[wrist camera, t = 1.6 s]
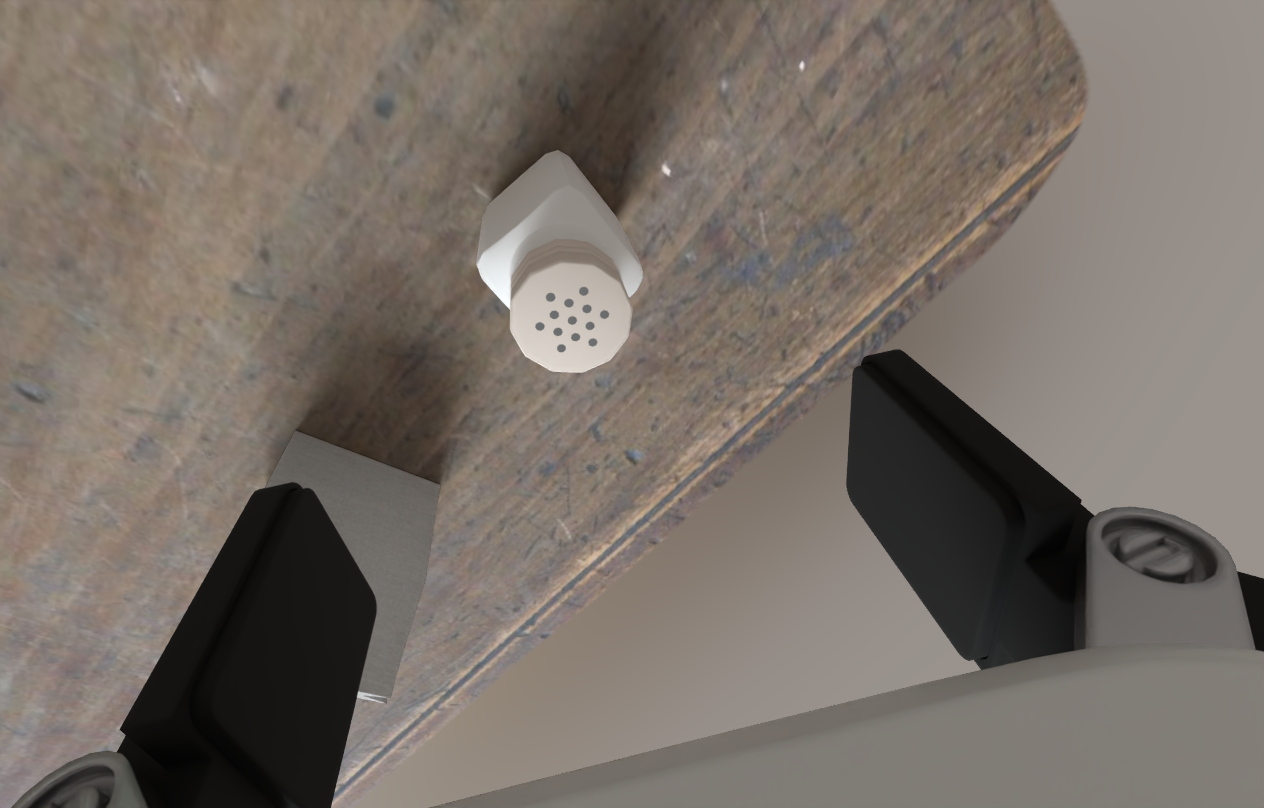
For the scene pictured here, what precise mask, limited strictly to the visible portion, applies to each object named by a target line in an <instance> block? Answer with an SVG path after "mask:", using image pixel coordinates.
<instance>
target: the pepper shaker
mask: <svg viewBox="0 0 1264 808" xmlns="http://www.w3.org/2000/svg"><path fill="white" fill-rule="evenodd" d="M476 264H477V267H478V270H479V272H480V275H481V278H482V279H483V281H484V282H485V283H486V284H487V285H488V286H489V287H490V288H491V290H492V291H493V292H494V293H495V294H496V295H497V296H498V297H499V299H500V300H501V301H502V302H503V303H504V304H505V305H506V306H507V307H508V308H509V309H510V331H511V333H512V335H513V336H514V338H515V340H516V341H517V343H518V345H519V347H520V348H521V350H522V352H523V353H524V355H525V356H526V357H527V358H529V359H531V360H533V361H534V362H536V363H538V364H540V365H542V366H543V367H545V368H547V369H549V370H550V371H555V372H580V373H583V372H585V371H587V370H590V369H592V368H594V367H596V366H599V365H601V364H603V363H605V362H608V361H610V360H611V359H612V357H613V356H614V355H615V354H616V352H617V351H618V350H619V349H620V347H621V346H622V345H623V344H624V342H625V341H626V340H627V339H628V337H629V333H630V326H631V320H632V313H633V306H632V304H631V301H630V299H629V297H630V296H632V295H633V294H634V293H635V292H636V291H637V289H638V287H639V285H640V283H641V280H642V278H643V276H644V275H643V271H642V266H641V263H640V261H639V259H638V257H637V255H636V253H635V251H634V250H633V248H632V246H631V244H630V242H629V240H628V238H627V236H626V234H625V232H624V230H623V228H622V227H621V225H620V223H619V221H618V219H617V217H616V216H615V214H614V213H613V212H612V211H611V209H610V208H609V207H608V205H607V204H606V203H605V202H604V200H603V199H602V198H601V196H600V195H599V194H598V193H597V191H596V190H595V189H594V187H593V186H592V185H591V184H590V182H589V181H588V180H587V178H586V177H585V176H584V175H583V173H582V172H581V171H580V170H579V168H578V167H577V166H576V164H575V163H574V162H573V161H572V159H571V158H570V157H569V156H568V155H566V154H564V153H562V152H561V151H559V150H556V151H553V152H550V153H546V154H545V155H544V156H543V157H541V158H540V159H539V160H538V161H537V162H536V163H535V164H533V165H532V166H531V167H530V168H529V169H528V170H527V171H525V172H524V173H523V174H522V175H521V176H520V177H519V178H518V179H516V180H515V181H514V182H513V183H512V184H511V185H510V186H508V187H507V188H506V189H505V190H504V191H503V192H502V193H501V194H499V195H498V196H497V197H496V198H495V199H494V200H493V201H491V202H490V203H489V204H488V206H487V208H486V210H485V212H484V214H483V219H482V225H481V232H480V239H479V246H478V253H477V260H476Z"/></svg>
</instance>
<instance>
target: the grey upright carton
mask: <svg viewBox="0 0 1264 808" xmlns="http://www.w3.org/2000/svg"><path fill="white" fill-rule="evenodd" d="M290 482H295V483H298V484H299V485H301V486H302V488H303V489H304V488H310V489H312V490H313V491H314V492H315V494H316V495H317V497H318V499H319V500H320V502H321V504H322V505H323V507H324V509H325V511H326V512H327V514H328V516H329V517H330V519H331V521H332V522H333V524H334V526H335V528H336V529H337V531H338V533H339V534H340V536H341V538H342V540H343V541H344V543H345V545H346V546H347V548H348V550H349V551H350V553H351V555H352V557H353V558H354V560H355V562H356V563H357V565H358V567H359V569H360V570H361V572H362V574H363V575H364V577H365V579H366V580H367V582H368V584H369V586H370V587H371V589H372V591H373V593H374V595H375V598H376V603H377V614H376V619H375V623H374V627H373V631H372V636H371V640H370V644H369V648H368V653H367V657H366V661H365V665H364V669H363V674H362V678H361V682H360V686H359V691H358V695H357V698H361V699H366V700H371V701H376V702H381V703H386V704H387V698H391V695H392V691H393V687H394V683H395V679H396V675H397V672H398V668H399V665H400V661H401V658H402V655H403V651H404V648H405V644H406V641H407V638H408V635H409V632H410V628H411V625H412V622H413V619H414V616H415V612H416V609H417V606H418V603H419V600H420V596H421V593H422V590H423V587H424V584H425V580H426V575H427V568H428V562H429V556H430V549H431V543H432V536H433V530H434V523H435V517H436V511H437V504H438V498H439V491H440V485H439V484H437V483H434V482H431V481H429V480H426V479H423V478H421V477H418V476H415V475H413V474H410V473H407V472H405V471H402V470H399V469H397V468H394V467H391V466H389V465H386V464H383V463H381V462H378V461H375V460H373V459H370V458H367V457H365V456H362V455H359V454H357V453H354V452H351V451H349V450H346V449H343V448H341V447H338V446H335V445H333V444H330V443H328V442H325V441H322V440H320V439H317V438H314V437H312V436H309V435H306V434H304V433H301V432H298V431H296V430H295V432H294V434H293V436H292V438H291V440H290V441H289V443H288V445H287V447H286V449H285V451H284V453H283V455H282V457H281V459H280V460H279V462H278V464H277V466H276V468H275V470H274V472H273V474H272V476H271V477H270V479H269V481H268V483H267V485H266V487H265V488H268V487H272V486H277V485H281V484H286V483H290Z"/></svg>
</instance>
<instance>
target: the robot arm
mask: <svg viewBox="0 0 1264 808" xmlns="http://www.w3.org/2000/svg"><path fill="white" fill-rule="evenodd" d="M846 482H847V483H846V484H847V491H848V495H849V497H850V499H851V502H852V503H853V505H854V506H855V508H856V509H857V511H858V512H859V513H860V515H861V516H862V518H863V519H864V520H865V522H866V523H867V525H868V526H869V528H870V529H871V530H872V532H873V533H874V535H875V536H876V537H877V539H878V540H879V542H880V543H881V544H882V546H883V547H884V548H885V550H886V552H887V553H888V554H889V556H890V557H891V559H892V560H893V561H894V563H895V564H896V566H897V567H898V568H899V570H900V571H901V572H902V574H903V575H904V577H905V578H906V580H907V581H908V582H909V584H910V585H911V587H912V588H913V590H914V591H915V592H916V594H917V595H918V597H919V598H920V599H921V601H922V602H923V604H924V605H925V606H926V608H927V609H928V611H929V612H930V614H931V615H932V616H933V618H934V619H935V621H936V622H937V623H938V625H939V626H940V627H941V629H942V630H943V632H944V633H945V635H946V636H947V638H948V639H949V640H950V642H951V643H952V645H953V646H954V647H955V649H956V650H957V652H958V653H959V654H960V655H961V656H962V657H963V658H964V659H966V660H968V661H970V660H974V661H975V662H976V663H977V665H978V666H979V667H980V669H981V670H980V671H975V672H971V673H966V674H962V675H958V676H954V677H949V678H944V679H941V680H936V681H931V682H927V683H923V684H919V685H915V686H911V687H907V688H903V689H899V690H895V691H891V692H887V693H882V694H878V695H874V696H870V697H866V698H862V699H858V700H854V701H850V702H846V703H842V704H838V705H834V706H830V707H826V708H821V709H818V710H813V711H809V712H805V713H801V714H797V715H793V716H789V717H785V718H781V719H777V720H773V721H769V722H765V723H761V724H757V725H753V726H749V727H745V728H741V729H737V730H733V731H729V732H725V733H721V734H717V735H713V736H709V737H705V738H701V739H697V740H693V741H689V742H685V743H681V744H677V745H673V746H669V747H665V748H661V749H657V750H653V751H649V752H645V753H641V754H638V755H633V756H630V757H626V758H622V759H618V760H614V761H610V762H606V763H602V764H598V765H594V766H590V767H586V768H582V769H578V770H575V771H570V772H566V773H562V774H558V775H555V776H551V777H547V778H543V779H539V780H535V781H531V782H527V783H523V784H519V785H515V786H511V787H508V788H504V789H500V790H496V791H492V792H488V793H485V794H480V795H477V796H473V797H469V798H465V799H461V800H457V801H453V802H450V803H446V804H442V805H438V806H434V807H430V808H1264V579H1263V578H1259V577H1256V576H1252V575H1249V574H1245V573H1241V572H1238V571H1237V570H1236V566H1235V564H1234V561H1233V560H1232V557H1231V555H1230V554H1229V552H1228V550H1227V549H1225V547H1224V546H1223V545H1222V544H1221V543H1220V542H1219V541H1218V540H1217V539H1216V538H1215V537H1213V536H1212V535H1210V534H1209V533H1207V532H1205V531H1204V530H1203V529H1201V528H1200V527H1198V526H1196V525H1194V524H1192V523H1190V522H1188V521H1186V520H1183V519H1181V518H1179V517H1177V516H1174V515H1171V514H1167V513H1163V512H1160V511H1157V510H1153V509H1145V508H1137V507H1120V508H1111V509H1109V510H1105V511H1102V512H1099V513H1098V514H1097V515H1095V516H1094V515H1093V514H1092V513H1091V512H1089V511H1088V510H1087V509H1086V508H1085V507H1084V506H1082V505H1081V499H1080V498H1079V497H1077V496H1076V495H1075V494H1074V493H1073V492H1071V491H1070V490H1069V489H1068V488H1067V487H1065V486H1064V485H1063V484H1062V483H1061V482H1059V481H1058V480H1057V479H1056V478H1055V477H1053V476H1052V475H1051V474H1050V473H1049V472H1047V471H1046V470H1045V469H1044V468H1043V467H1041V466H1040V465H1039V464H1038V463H1037V462H1035V461H1034V460H1033V459H1032V458H1031V457H1029V456H1028V455H1027V454H1026V453H1025V452H1023V451H1022V450H1021V449H1020V448H1019V447H1017V446H1016V445H1015V444H1014V443H1013V442H1011V441H1010V440H1009V439H1008V438H1007V437H1005V436H1004V435H1003V434H1002V433H1001V432H999V431H998V430H997V429H996V428H995V427H993V426H992V425H991V424H990V423H988V422H987V421H986V420H985V419H984V418H983V417H981V416H980V415H979V414H978V413H977V412H975V411H974V410H973V409H972V408H970V407H969V406H968V405H967V404H966V403H965V402H963V401H962V400H961V399H959V397H957V396H956V395H955V394H954V393H953V392H951V391H950V390H949V389H948V388H947V387H945V386H944V385H943V384H942V383H941V382H939V381H938V380H937V379H936V378H935V377H933V376H932V375H931V374H930V373H929V372H927V371H926V370H925V369H924V368H923V367H921V366H920V365H919V364H918V363H917V362H915V361H914V360H913V359H912V358H911V357H909V356H908V355H907V354H906V353H905V352H903V351H901V350H891V351H887V352H882V353H878V354H873V355H868V356H866V357H864V358H863V360H862V363H861V366H857V367H856V368H855V369H854V371H853V377H852V395H851V412H850V429H849V446H848V465H847V481H846ZM376 614H377V603H376V598H375V595H374V593H373V591H372V589H371V587H370V586H369V584H368V582H367V580H366V579H365V577H364V575H363V574H362V572H361V570H360V569H359V567H358V565H357V563H356V562H355V560H354V558H353V557H352V555H351V553H350V551H349V550H348V548H347V546H346V545H345V543H344V541H343V540H342V538H341V536H340V534H339V533H338V531H337V529H336V528H335V526H334V524H333V522H332V521H331V519H330V517H329V516H328V514H327V512H326V511H325V509H324V507H323V505H322V504H321V502H320V500H319V499H318V497H317V495H316V494H315V492H314V491H313V490H312V489H310V488H304V489H303V488H302V486H301V485H299V484H298V483H295V482H290V483H286V484H281V485H277V486H272V487H268V488H263V489H259V490H257V491H255V492H254V493H253V494H252V496H251V497H250V499H249V501H248V503H247V505H246V506H245V508H244V510H243V512H242V513H241V515H240V517H239V519H238V521H237V522H236V524H235V526H234V528H233V529H232V531H231V533H230V535H229V536H228V538H227V540H226V542H225V544H224V545H223V547H222V549H221V551H220V552H219V554H218V556H217V558H216V560H215V561H214V563H213V565H212V567H211V568H210V570H209V572H208V574H207V575H206V577H205V579H204V581H203V583H202V584H201V586H200V588H199V590H198V591H197V593H196V595H195V597H194V599H193V600H192V602H191V604H190V606H189V607H188V609H187V611H186V613H185V614H184V616H183V618H182V620H181V622H180V623H179V625H178V627H177V629H176V630H175V632H174V634H173V636H172V637H171V639H170V641H169V643H168V645H167V646H166V648H165V650H164V652H163V653H162V655H161V657H160V659H159V661H158V662H157V664H156V666H155V668H154V669H153V671H152V673H151V675H150V676H149V678H148V680H147V682H146V684H145V685H144V687H143V689H142V691H141V692H140V694H139V696H138V698H137V700H136V701H135V703H134V705H133V707H132V708H131V710H130V712H129V714H128V715H127V717H126V719H125V721H124V723H123V724H122V726H121V728H120V730H121V731H122V732H123V733H124V734H125V735H126V736H125V738H124V740H123V742H122V744H121V745H120V747H119V749H118V751H117V752H112V751H102V752H96V753H90V754H87V755H85V756H83V757H80V758H78V759H75V760H73V761H71V762H68V763H67V764H65V765H63V766H62V767H60V768H59V769H57V770H55V771H54V772H52V773H50V774H49V775H47V776H46V777H45V778H43V779H42V780H41V781H40V782H38V783H37V784H36V785H35V786H33V787H32V788H31V789H30V790H29V791H27V792H26V793H25V794H24V795H23V796H22V797H21V798H20V799H19V800H18V801H17V802H16V803H15V804H14V805H13V806H12V807H11V808H331V805H332V800H333V796H334V792H335V788H336V783H337V779H338V775H339V771H340V767H341V762H342V758H343V754H344V750H345V745H346V741H347V737H348V733H349V729H350V724H351V720H352V716H353V712H354V707H355V703H356V699H357V695H358V691H359V686H360V682H361V678H362V674H363V669H364V665H365V661H366V657H367V653H368V648H369V644H370V640H371V636H372V631H373V627H374V623H375V619H376Z"/></svg>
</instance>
